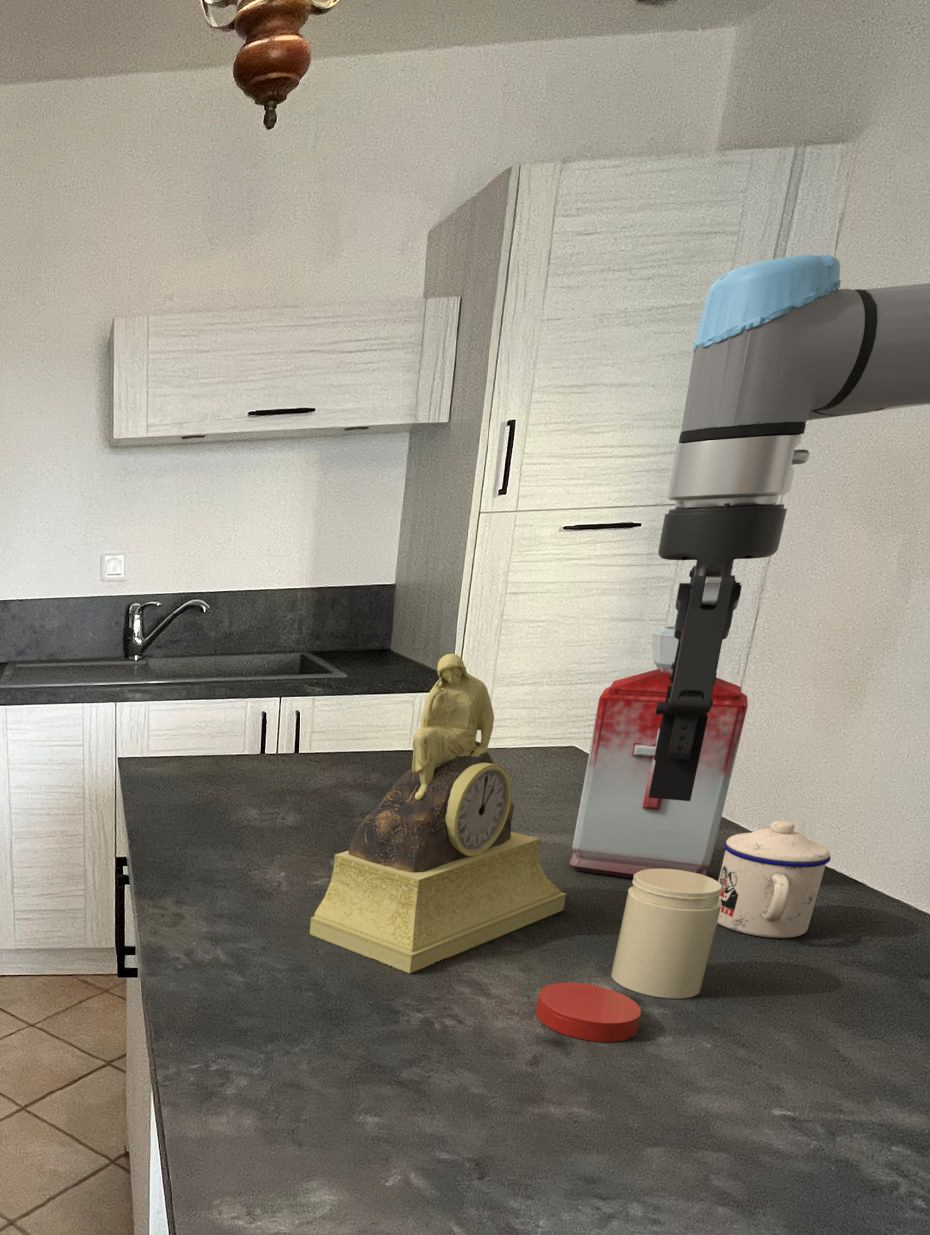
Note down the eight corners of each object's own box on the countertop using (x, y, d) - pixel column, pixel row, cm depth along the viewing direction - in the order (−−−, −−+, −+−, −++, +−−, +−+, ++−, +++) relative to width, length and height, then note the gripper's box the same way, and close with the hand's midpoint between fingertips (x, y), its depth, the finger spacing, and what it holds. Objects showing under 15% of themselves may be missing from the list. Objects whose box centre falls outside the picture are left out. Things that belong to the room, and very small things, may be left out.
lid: (515, 1010, 91) (518, 991, 91) (579, 993, 94) (582, 976, 93) (591, 1049, 84) (595, 1030, 84) (658, 1031, 87) (662, 1012, 86)
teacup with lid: (702, 904, 113) (725, 807, 109) (801, 915, 109) (828, 815, 105) (714, 942, 103) (740, 837, 99) (822, 956, 99) (854, 848, 95)
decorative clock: (409, 973, 99) (446, 674, 89) (309, 934, 109) (331, 662, 99) (563, 910, 113) (611, 645, 102) (461, 880, 123) (495, 636, 113)
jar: (700, 975, 96) (724, 874, 93) (700, 1005, 91) (726, 899, 87) (613, 960, 100) (633, 862, 97) (608, 988, 95) (629, 886, 91)
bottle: (566, 873, 124) (610, 631, 113) (576, 851, 132) (618, 622, 121) (704, 893, 116) (765, 634, 106) (705, 868, 124) (763, 624, 113)
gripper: (803, 501, 62) (730, 823, 69) (777, 498, 81) (722, 750, 89) (662, 508, 66) (608, 811, 73) (669, 503, 85) (625, 744, 93)
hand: (670, 778), depth 81 cm, fingers open, 13 cm apart
